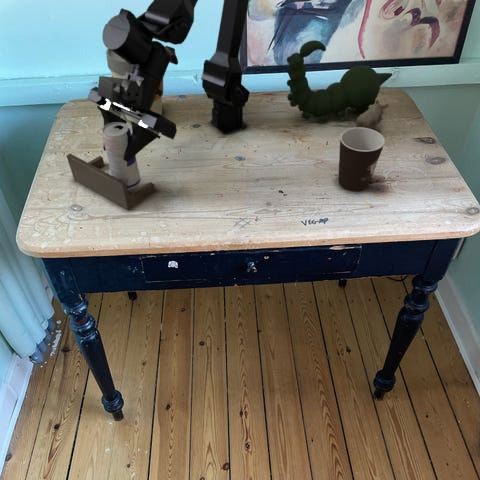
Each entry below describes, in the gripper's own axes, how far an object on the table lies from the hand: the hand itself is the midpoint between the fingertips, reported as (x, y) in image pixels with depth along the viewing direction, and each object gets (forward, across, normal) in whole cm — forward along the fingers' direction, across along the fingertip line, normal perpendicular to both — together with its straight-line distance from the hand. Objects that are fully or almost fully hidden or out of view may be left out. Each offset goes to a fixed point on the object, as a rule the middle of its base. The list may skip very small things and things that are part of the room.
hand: (115, 155), depth 94 cm
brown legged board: (+6, -4, +7) cm, 10 cm away
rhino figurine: (-30, +28, +44) cm, 61 cm away
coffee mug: (-17, +36, +31) cm, 50 cm away
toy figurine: (-31, +18, +45) cm, 57 cm away
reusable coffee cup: (-11, -20, +25) cm, 34 cm away
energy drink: (+4, 0, +6) cm, 7 cm away
